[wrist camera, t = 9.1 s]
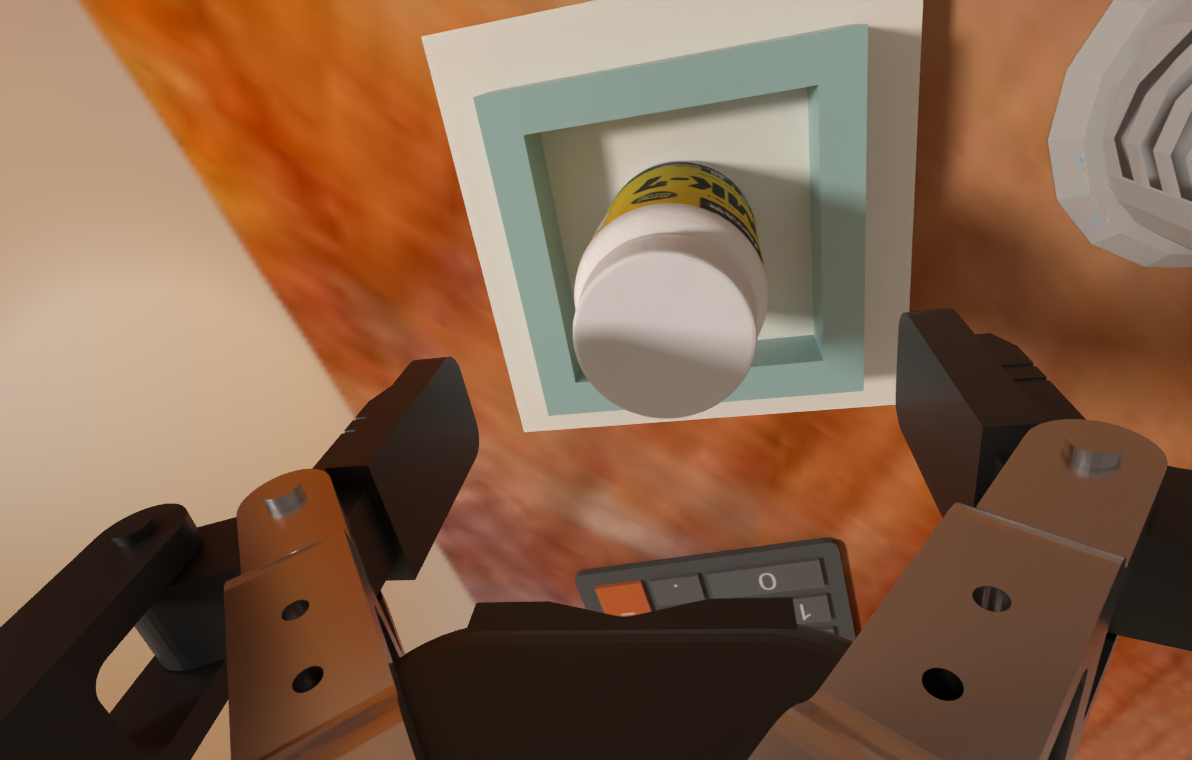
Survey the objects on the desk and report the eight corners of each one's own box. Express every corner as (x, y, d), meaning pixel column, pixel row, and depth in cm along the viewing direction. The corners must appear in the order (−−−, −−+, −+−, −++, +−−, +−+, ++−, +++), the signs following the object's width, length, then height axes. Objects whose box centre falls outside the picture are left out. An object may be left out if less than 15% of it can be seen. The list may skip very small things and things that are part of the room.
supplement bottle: (779, 186, 20) (820, 279, 13) (721, 319, 23) (728, 462, 15) (631, 135, 20) (588, 201, 13) (588, 275, 22) (531, 397, 15)
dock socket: (433, 36, 21) (394, 37, 18) (914, -64, 18) (952, -80, 15) (530, 418, 27) (511, 461, 24) (897, 390, 24) (921, 434, 21)
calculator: (838, 544, 27) (880, 769, 33) (834, 529, 28) (876, 752, 34) (572, 579, 30) (656, 780, 36) (575, 565, 31) (657, 763, 37)
